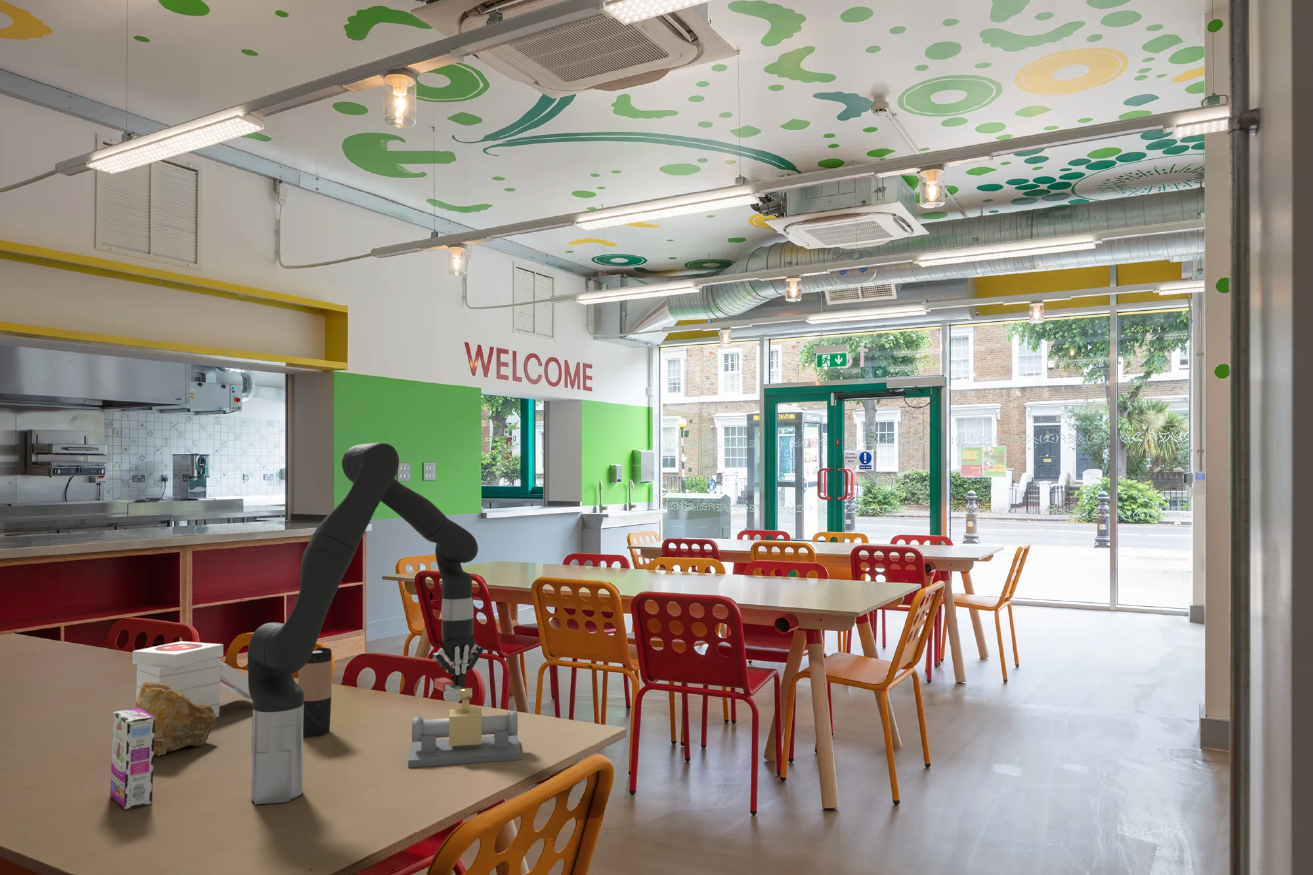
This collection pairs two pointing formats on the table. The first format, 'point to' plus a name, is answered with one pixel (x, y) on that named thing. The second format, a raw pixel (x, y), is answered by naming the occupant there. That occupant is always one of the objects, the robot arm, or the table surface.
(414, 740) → the valve stand
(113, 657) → the table surface
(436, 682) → the lever
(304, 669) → the travel mug
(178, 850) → the table surface
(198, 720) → the rough brown rock
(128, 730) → the candy bar box
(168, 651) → the pizza boxes
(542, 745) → the table surface
